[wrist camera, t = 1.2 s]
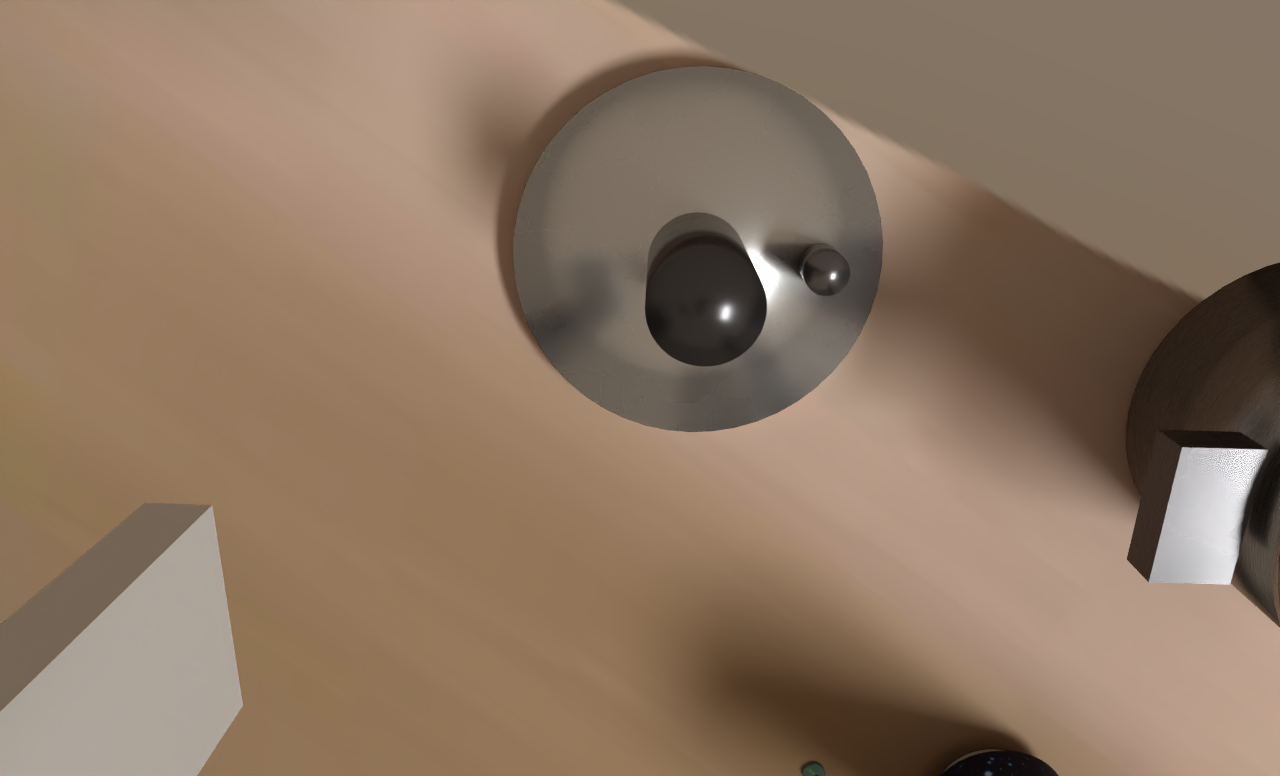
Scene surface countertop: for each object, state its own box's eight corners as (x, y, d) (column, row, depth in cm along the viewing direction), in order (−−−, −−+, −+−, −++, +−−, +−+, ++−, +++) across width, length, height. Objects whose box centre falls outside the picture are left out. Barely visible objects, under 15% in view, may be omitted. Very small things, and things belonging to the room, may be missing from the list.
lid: (522, 416, 32) (486, 507, 25) (512, 62, 28) (466, 60, 21) (856, 425, 32) (907, 518, 25) (895, 70, 28) (968, 70, 21)
